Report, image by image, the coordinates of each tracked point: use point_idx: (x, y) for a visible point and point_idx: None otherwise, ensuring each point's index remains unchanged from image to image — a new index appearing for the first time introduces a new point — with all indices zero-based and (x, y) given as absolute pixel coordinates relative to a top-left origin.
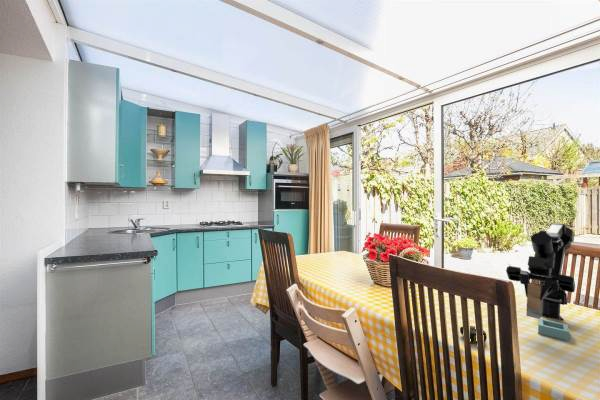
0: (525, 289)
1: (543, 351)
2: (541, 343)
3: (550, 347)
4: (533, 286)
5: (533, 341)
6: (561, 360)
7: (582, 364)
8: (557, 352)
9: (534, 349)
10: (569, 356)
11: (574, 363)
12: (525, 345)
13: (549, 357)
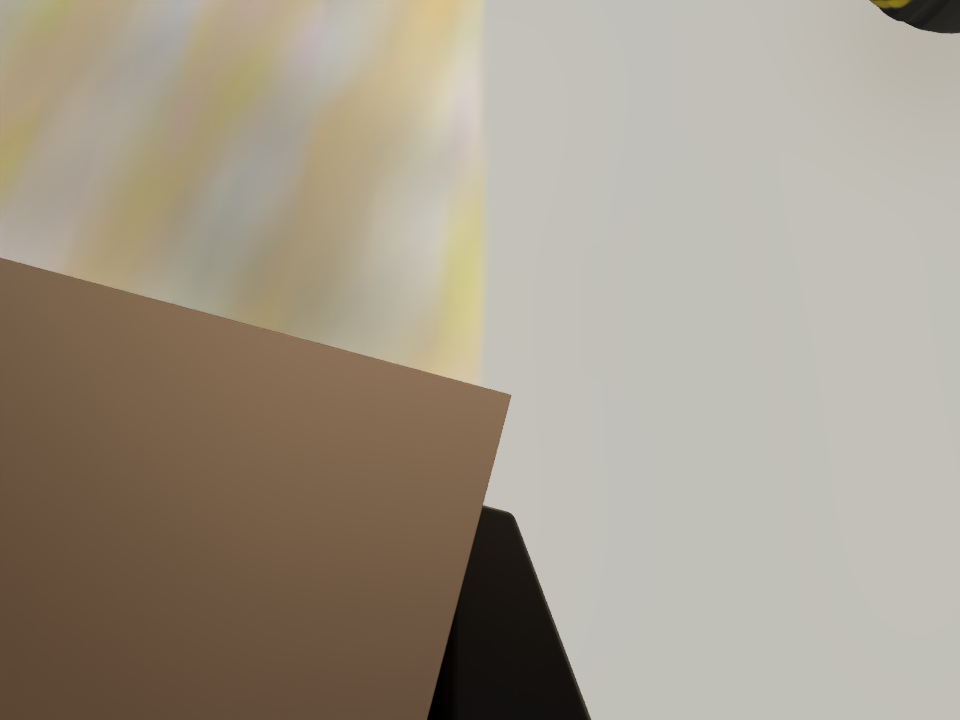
0: (562, 679)
1: (311, 112)
2: (300, 335)
3: (221, 275)
4: (173, 316)
5: (380, 337)
6: (181, 3)
7: (8, 32)
8: (176, 178)
9: (391, 106)
10: (78, 150)
11: (78, 9)
12: (469, 154)
13: (277, 3)
